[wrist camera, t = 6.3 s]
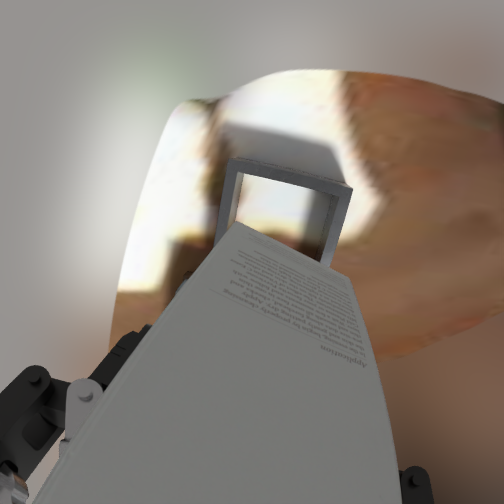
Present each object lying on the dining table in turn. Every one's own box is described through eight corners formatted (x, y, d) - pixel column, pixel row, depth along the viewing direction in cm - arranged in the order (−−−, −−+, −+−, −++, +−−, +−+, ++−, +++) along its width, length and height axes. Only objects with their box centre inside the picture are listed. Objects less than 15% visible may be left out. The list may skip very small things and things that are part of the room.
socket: (346, 183, 25) (353, 188, 22) (312, 293, 30) (313, 310, 27) (237, 157, 26) (228, 158, 23) (217, 269, 31) (208, 283, 27)
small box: (277, 376, 16) (237, 578, 4) (184, 333, 16) (77, 523, 4) (354, 275, 13) (411, 585, 1) (236, 215, 12) (3, 516, 1)
